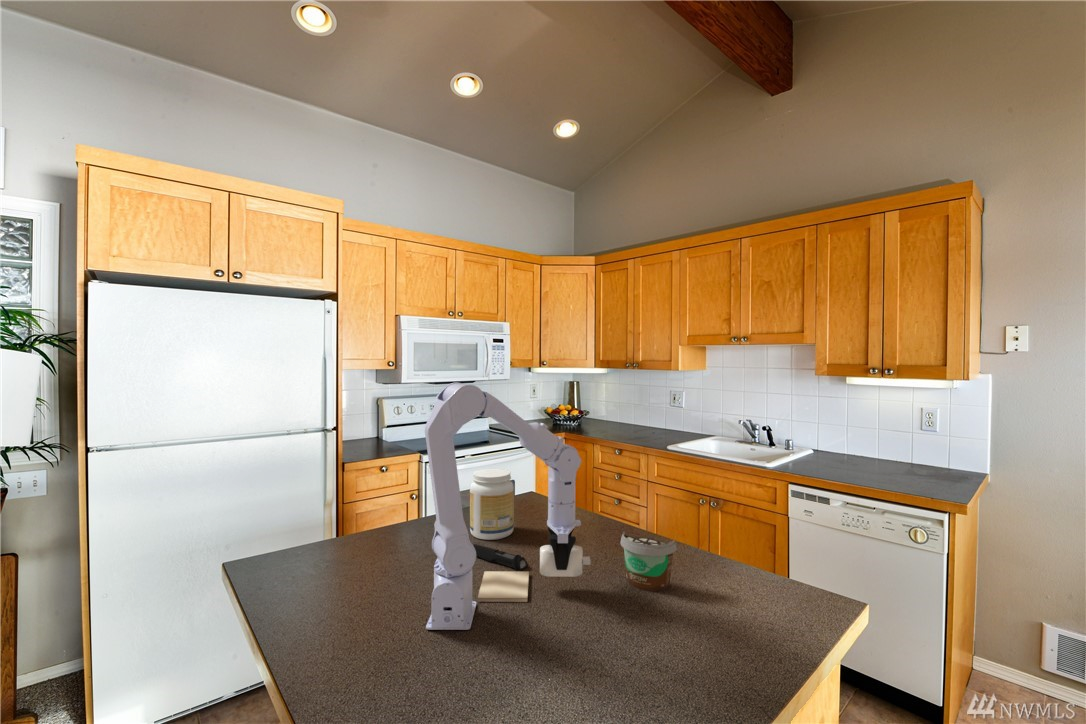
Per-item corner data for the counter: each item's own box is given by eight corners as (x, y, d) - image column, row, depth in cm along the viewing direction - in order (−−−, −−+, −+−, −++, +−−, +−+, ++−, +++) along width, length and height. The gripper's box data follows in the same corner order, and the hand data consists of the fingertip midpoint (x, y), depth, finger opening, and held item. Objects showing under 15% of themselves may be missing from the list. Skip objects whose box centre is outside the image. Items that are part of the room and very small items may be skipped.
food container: (612, 585, 106) (612, 539, 105) (621, 574, 111) (621, 530, 111) (669, 599, 100) (670, 550, 100) (676, 586, 105) (676, 540, 105)
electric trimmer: (479, 553, 124) (479, 540, 124) (529, 567, 115) (529, 554, 115) (469, 558, 120) (469, 545, 120) (519, 573, 112) (519, 560, 112)
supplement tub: (522, 530, 138) (522, 471, 138) (495, 544, 128) (496, 480, 128) (488, 522, 145) (488, 465, 145) (460, 535, 134) (460, 474, 134)
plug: (589, 568, 105) (589, 545, 105) (590, 576, 101) (591, 552, 101) (539, 568, 105) (540, 544, 105) (539, 576, 101) (539, 552, 101)
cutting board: (527, 601, 98) (527, 597, 98) (477, 601, 98) (477, 597, 98) (528, 575, 110) (528, 571, 110) (484, 574, 110) (484, 571, 110)
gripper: (583, 511, 96) (583, 580, 96) (578, 491, 110) (577, 550, 111) (547, 511, 96) (547, 580, 96) (546, 490, 110) (546, 550, 111)
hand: (561, 564), depth 103 cm, fingers closed on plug, 4 cm apart
